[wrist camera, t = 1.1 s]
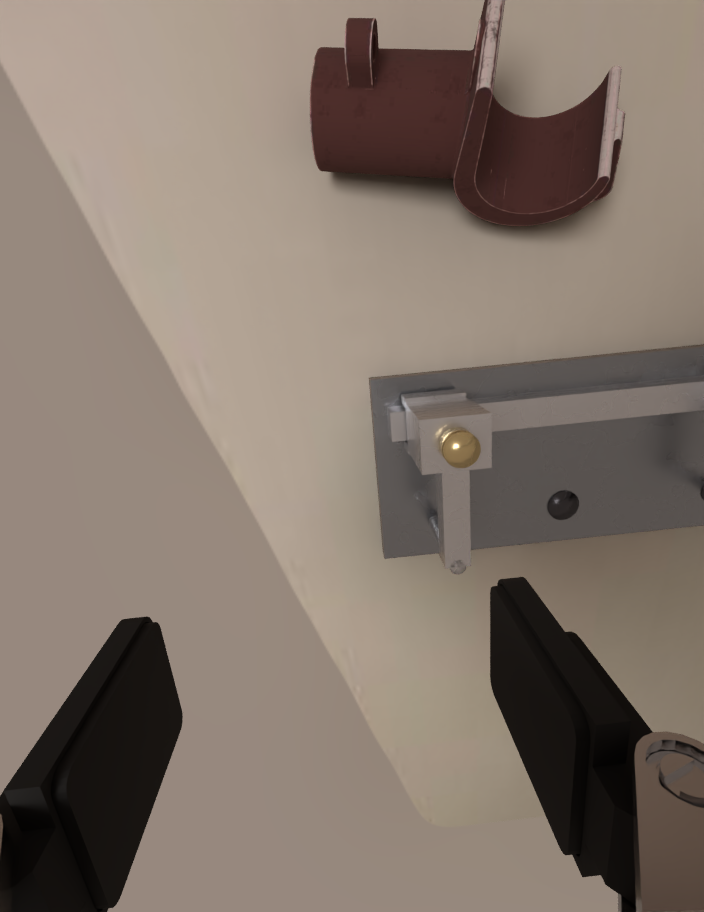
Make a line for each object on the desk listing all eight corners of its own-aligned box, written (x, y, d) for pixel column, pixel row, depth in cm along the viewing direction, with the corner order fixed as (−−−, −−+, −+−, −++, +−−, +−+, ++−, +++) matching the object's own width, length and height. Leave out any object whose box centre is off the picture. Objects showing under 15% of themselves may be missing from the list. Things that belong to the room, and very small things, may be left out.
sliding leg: (458, 388, 31) (499, 412, 24) (461, 524, 34) (498, 584, 27) (400, 394, 31) (423, 419, 24) (409, 530, 34) (431, 591, 27)
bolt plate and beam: (779, 336, 33) (919, 343, 25) (747, 512, 37) (858, 565, 29) (368, 377, 33) (380, 397, 25) (382, 551, 37) (396, 615, 29)
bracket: (598, 238, 28) (703, 93, 18) (328, 219, 30) (292, 80, 20) (608, 146, 29) (716, -44, 19) (342, 133, 31) (313, -42, 21)
